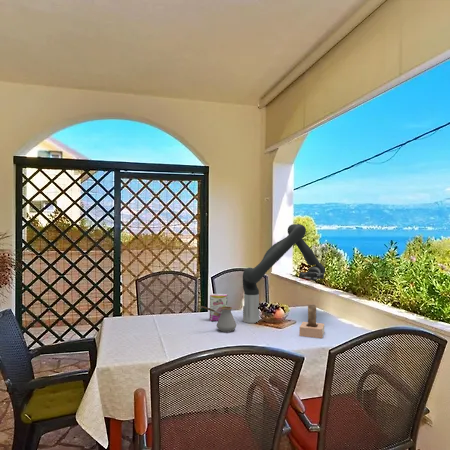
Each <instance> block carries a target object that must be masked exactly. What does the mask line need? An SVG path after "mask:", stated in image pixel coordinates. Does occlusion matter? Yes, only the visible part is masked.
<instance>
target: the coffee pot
mask: <svg viewBox="0 0 450 450" xmlns="http://www.w3.org/2000/svg"><path fill="white" fill-rule="evenodd" d="M201 309H205V310H207V311H209V312H210V311H213V312H216V313H219V314H221V315H220V318H219V320H218V321H217V323H216V328H217V329H218V330H219V331H220V332H223V333H230V332H234V330H235V329H236V328H237V323H236V320H235V318H234V316H233V313H232V309H233V307H231V306H228V307H221V309H222V313H221V312H218V311H215V310H213V309H210V307H208V306H207V307H206V306H205V305H204V306H203V305H200V307H199V310H201Z"/></svg>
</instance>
